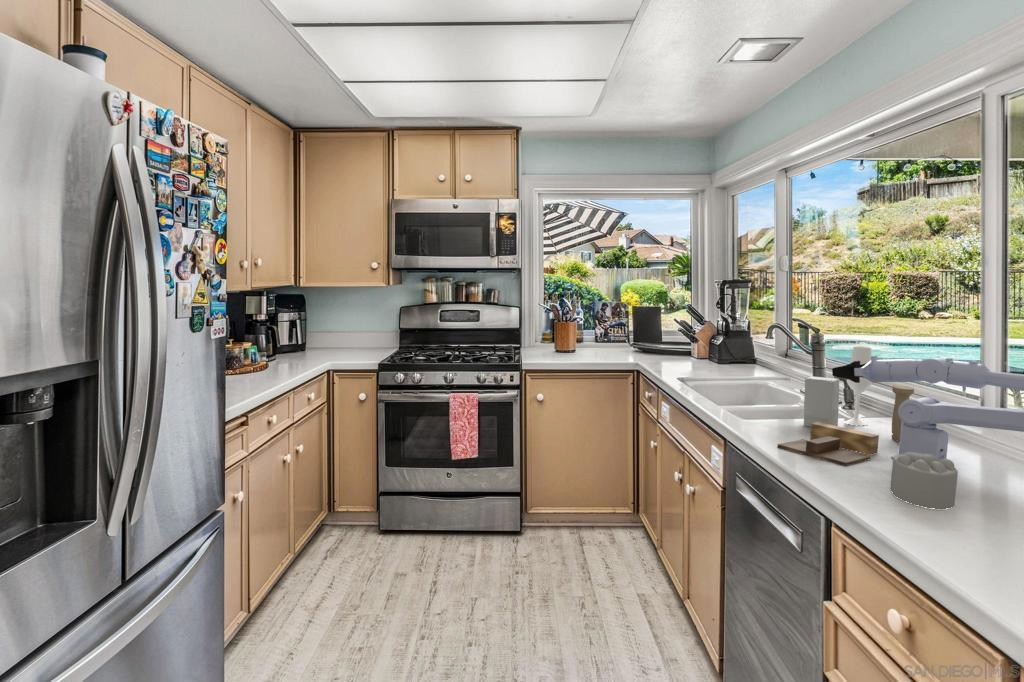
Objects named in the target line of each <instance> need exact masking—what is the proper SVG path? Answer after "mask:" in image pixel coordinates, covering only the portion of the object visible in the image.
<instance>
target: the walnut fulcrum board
mask: <svg viewBox="0 0 1024 682" xmlns="http://www.w3.org/2000/svg"><path fill="white" fill-rule="evenodd" d="M777 448H779V449H782V448H783V449H782V450H786V451H789V450H790V452H793V451H794V453H797V454H800V453H801V454H800V455H805V456H808V457H810V458H811V457H812V458H815V459H819V460H822V461H825V462H830V463H832V464H833V463H834V464H838V465H841V466H844V467H847V466H851V465H854V464H855V465H856V464H859V463H862V461H863V462H865V460H866V461H869V460H868V459H870V460H871V455H867V454H863V453H859V452H855V451H851V450H847V449H842V448H840V439H839V438H835V437H831V436H827V437H822V438H817V439H813V440H810V439H809V440H807V439H804V438H801V439H800V438H799V439H796V440H791V441H787V442H782V443H777Z"/></svg>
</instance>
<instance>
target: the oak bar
mask: <svg viewBox="0 0 1024 682" xmlns="http://www.w3.org/2000/svg"><path fill="white" fill-rule="evenodd" d="M827 436H831V437H835V438H839V439H840V449H842V448H844V450H847V449H848V451H851V450H852V451H851V452H855V451H857V452H856V453H859V452H861V453H860V454H863V453H865V454H864V455H867V454H870V455H869V456H872V455H871V454H874V453H877V454H878V451H879V450H878V448H879V439H880V438H879V434H875V433H870V432H865V431H861V430H857V429H851V428H848V427H843V426H839V425H838V426H834V425H830V424H825V423H821V422H816V423H811V426H810V437H809V440H813V439H817V438H822V437H827ZM874 455H875V454H874Z"/></svg>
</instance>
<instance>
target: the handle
mask: <svg viewBox="0 0 1024 682" xmlns="http://www.w3.org/2000/svg"><path fill="white" fill-rule="evenodd" d="M891 390H892V393H893V394H895V399H894V405H893V412H892V416H891V417H892V418H891V433H892V434H891V439H892V440H893V439H894V440H893V441H896V440H900V433H901V423H902V420H901V419H900V417H899V415H898V408H899V406H900V404H901V403H902V402H904V401H906V400H910V396H912V395H914V393H915V387H912V386H909V385H900V384H899V385H897V384H895V385H892V389H891Z"/></svg>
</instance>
